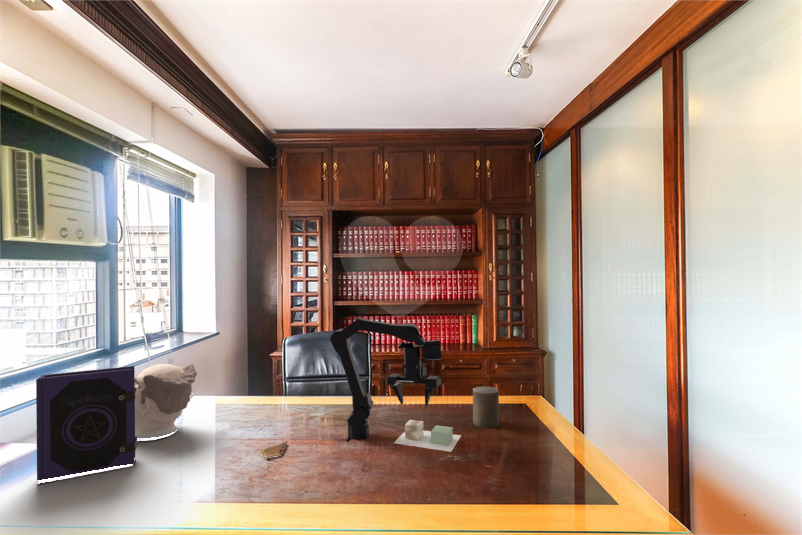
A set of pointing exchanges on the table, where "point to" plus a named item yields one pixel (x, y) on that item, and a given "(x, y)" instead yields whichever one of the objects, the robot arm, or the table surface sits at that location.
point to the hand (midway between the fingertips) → (414, 405)
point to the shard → (273, 450)
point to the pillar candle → (486, 407)
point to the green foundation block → (442, 435)
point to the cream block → (414, 430)
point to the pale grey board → (427, 442)
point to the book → (85, 421)
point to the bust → (161, 398)
